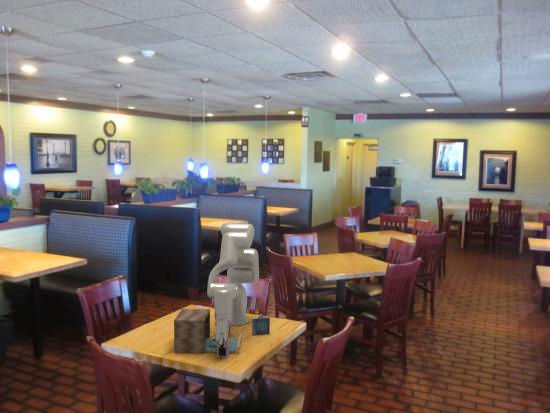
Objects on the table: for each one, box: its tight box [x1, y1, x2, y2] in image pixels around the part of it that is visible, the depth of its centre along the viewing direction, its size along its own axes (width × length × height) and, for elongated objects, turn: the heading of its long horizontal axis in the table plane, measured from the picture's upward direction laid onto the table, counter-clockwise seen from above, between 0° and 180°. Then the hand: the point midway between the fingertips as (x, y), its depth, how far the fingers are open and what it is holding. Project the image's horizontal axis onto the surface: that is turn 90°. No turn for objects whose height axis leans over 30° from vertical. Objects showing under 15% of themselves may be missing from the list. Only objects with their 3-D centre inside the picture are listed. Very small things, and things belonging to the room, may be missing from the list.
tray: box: [204, 332, 243, 354], centre depth 226 cm, size 18×17×3 cm
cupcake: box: [214, 319, 233, 335], centre depth 241 cm, size 9×9×10 cm
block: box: [216, 339, 230, 359], centre depth 216 cm, size 5×5×7 cm
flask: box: [251, 313, 271, 336], centre depth 242 cm, size 9×3×11 cm, turn 102°
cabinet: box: [173, 308, 211, 354], centre depth 226 cm, size 14×17×16 cm
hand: (223, 352), depth 216 cm, fingers open, 5 cm apart
